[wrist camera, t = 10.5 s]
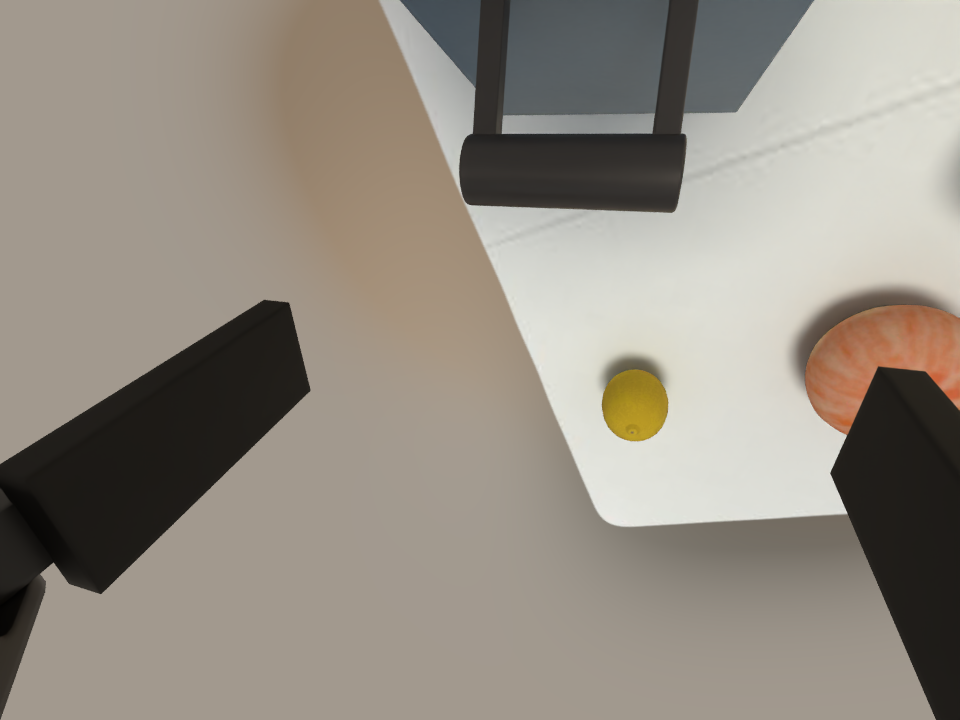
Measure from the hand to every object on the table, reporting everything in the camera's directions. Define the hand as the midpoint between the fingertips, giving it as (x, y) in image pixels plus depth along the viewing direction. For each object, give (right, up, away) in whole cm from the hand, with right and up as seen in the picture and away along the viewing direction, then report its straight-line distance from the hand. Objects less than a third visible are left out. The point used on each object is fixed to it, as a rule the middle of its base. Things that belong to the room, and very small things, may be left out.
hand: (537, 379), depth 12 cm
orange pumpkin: (+30, +1, +28) cm, 41 cm away
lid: (+4, +13, +8) cm, 16 cm away
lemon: (+13, -1, +35) cm, 38 cm away
